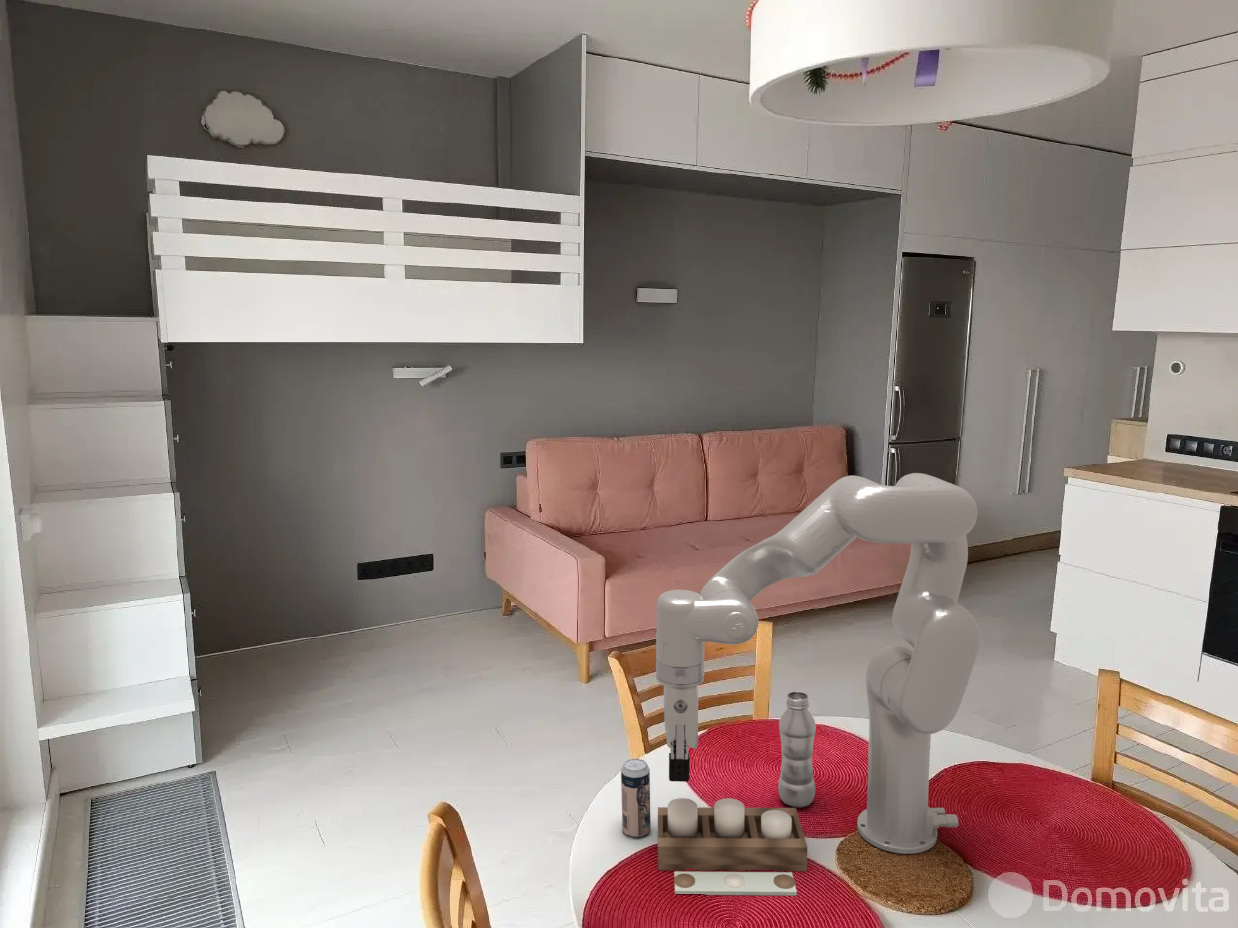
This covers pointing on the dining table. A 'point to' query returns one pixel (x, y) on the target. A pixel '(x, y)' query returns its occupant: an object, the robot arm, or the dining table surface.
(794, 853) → the wooden compartment tray
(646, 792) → the beer can
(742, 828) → the button mid
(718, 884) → the card
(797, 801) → the plastic bottle
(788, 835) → the button
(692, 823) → the button
